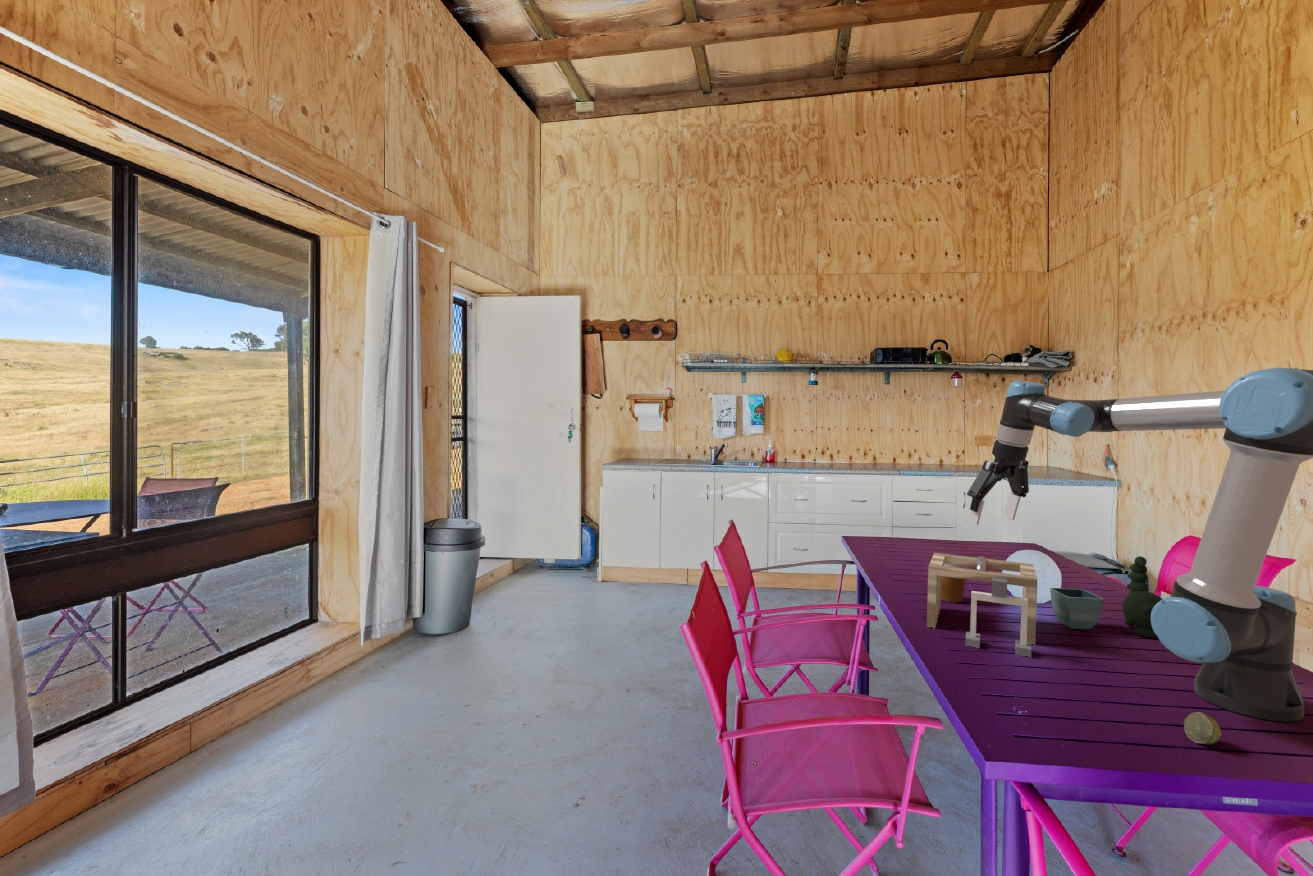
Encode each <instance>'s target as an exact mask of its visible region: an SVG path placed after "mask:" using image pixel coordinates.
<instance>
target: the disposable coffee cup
mask: <svg viewBox="0 0 1313 876" xmlns="http://www.w3.org/2000/svg"><path fill="white" fill-rule="evenodd" d="M944 566H949V567H958V568H966V569H970V566H963V565H955V564H946V563H945V564H944ZM966 580H967V579H962V578H954V577H946V576H941V601H942V600H945V601H950V602H960V601H962V602H963V599H964V594H965V592H964V591H965V587H966ZM945 601H944V602H945ZM950 602H949V603H950ZM960 603H961V602H960Z"/></svg>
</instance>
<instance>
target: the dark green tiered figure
mask: <svg viewBox="0 0 1313 876" xmlns="http://www.w3.org/2000/svg"><path fill="white" fill-rule="evenodd" d="M1133 562H1134V563H1133V564H1130V565H1129V568H1130V571H1131V572H1130V573H1128V574H1127V577H1128V579H1130V581H1129V583H1128V584H1127V585H1126V588H1127V590H1129V592H1128V594H1127V596H1126V597H1125V598H1124V600H1123V601H1122V602H1123V603H1122V607H1121V608H1122V613H1123V615H1124V618H1123V620H1124V623H1125V625H1127V626H1128V627H1132V628H1133V627H1134V631H1135V633H1136V635H1138V636H1141V637H1142V636H1143V638H1148V637H1149V638H1151V637H1152V638H1154V637H1157V634H1155V633H1154V630H1153V628H1152V625H1151V612H1152V609H1153V607H1154V606H1155V605H1156V604H1157V603H1158V602H1160V601H1161V600H1162V599H1163V598H1162V596H1160V595H1158V594H1156V593H1153V592H1151V591H1150V592H1149V590H1150V588H1149V585H1148V584H1147V582H1148V581H1149V576H1148V574H1147V573H1148V567H1147V566H1146V565H1147V558H1146V557H1144V556H1141V555H1140V556H1137V557H1135V558H1134V561H1133ZM1149 638H1148V639H1149Z"/></svg>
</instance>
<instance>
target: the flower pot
mask: <svg viewBox="0 0 1313 876" xmlns="http://www.w3.org/2000/svg"><path fill="white" fill-rule="evenodd" d="M1049 591H1050V601H1051V608H1052V611H1053V613H1054V616H1055V617H1056V619H1057V620H1058V621H1059V623H1061V624H1062V625H1064V626H1066V627H1067V628H1069V629H1073V630H1075V629H1076V630H1091V629H1092V628H1093V627H1094V626H1095V625H1097V622H1098V621H1099V619H1100V617H1101V613H1102V608H1103V604H1104V598H1103V597H1101V596H1099V595H1097V594H1095V593H1092V592H1090V591H1088V590H1085V589H1082V588H1067V587H1066V588H1065V587H1049Z"/></svg>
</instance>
